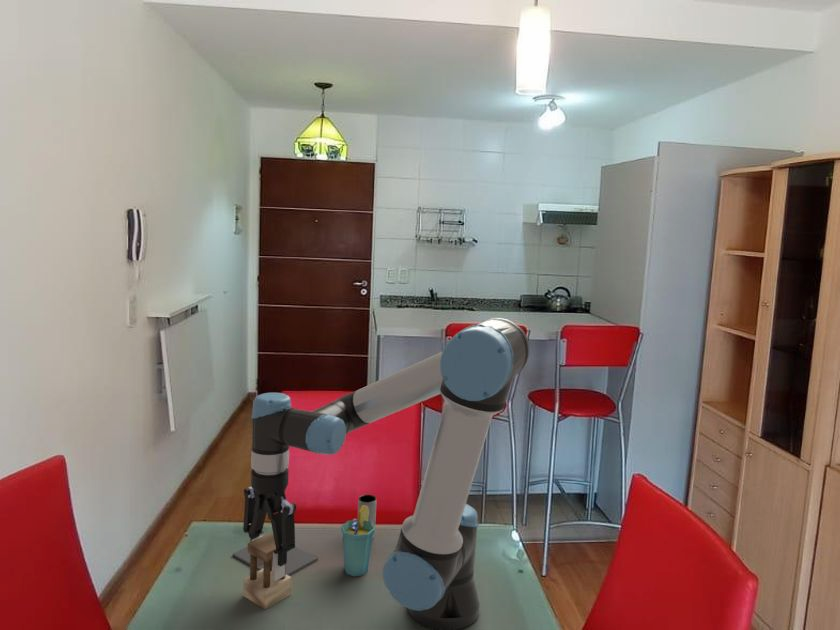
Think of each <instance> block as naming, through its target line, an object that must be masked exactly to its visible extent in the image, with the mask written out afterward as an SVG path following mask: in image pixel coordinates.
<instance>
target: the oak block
mask: <svg viewBox="0 0 840 630" xmlns="http://www.w3.org/2000/svg"><path fill="white" fill-rule="evenodd" d="M263 569H264V568H263ZM263 569H261V570H257V579H256V580H250V575H248V576H246V577H244V578H243V589H242V590H243V591H242V592H243V593H242V594H243V595H242V596H243V597H244V598H246V599H248V600H249V601H251V602H253V603H254V604H255V605H257V606H259V607H261V608H262V609H264V610H267V609H268V608H271V607H272V606H274V605H275V604H277V603H279V602H281V601H283V600H284V599H286V598H287V597H289V596H291V595H292V576H291V575H290V576H288V575H287V574H286V575H285V579H278V580H277V581H273V580H272V577H273V567H272V571H271V572H270V587H268V588H264V587H263Z"/></svg>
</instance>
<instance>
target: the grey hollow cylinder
mask: <svg viewBox="0 0 840 630" xmlns="http://www.w3.org/2000/svg"><path fill="white" fill-rule="evenodd" d="M357 501H358V502H357V504H358V505H357V515H358V514H359V511H360V509H361V507H362V505H366V506H368V508H369V518H368V522H371V523H372V525H373V527H374V529H375V531H374V534H373V536H372V540H373V539H374V538H375V536H376V518H377V517H376V516H377V497H376V496H375V495H372V494H362V495H360V496H359V497H358V500H357Z"/></svg>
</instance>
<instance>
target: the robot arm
mask: <svg viewBox="0 0 840 630" xmlns="http://www.w3.org/2000/svg"><path fill="white" fill-rule="evenodd" d="M528 339H529V338H528V337H527V335H526V333H525V332H524V330H523V328H522V327H521V326H519V325H518V324H517V323H516V322H515V321H512V320H510V319H506V318H503V317H492V318H488V319H485V320H483V321H481V322H480V323H477V324H474V325H469V326H467V327H465V328H463V329H461V330H460V331H458V332H457V333H456V334H454V336H452V337H451V338H450V339H449V340H448V341H447V343H446V345H445V346H444V348H443V350H442V351H440V352H438V353H437V354H433V355H432V356H429V357H427V358H425V359H423V360H421V361H419V362H415V363H413V364H412V365H410V366H408V367H405V368H402V369H401V370H399V371H396V372H395V373H392V374H390V375H388V376H386V377H383V378H380V379H379V380H377V381H374V382H373V383H370V384H368V385H366V386H364V387H362V388H359V389H357V390H355V391H352V392H350V393H347V394H345V395H343V396H340V397H338V398H337V399H335V400H333V401H331V402H329V403H328V404H325V405H323V406H321V407H318V408H316V409H315V410H311V411H309V410H303V409H298V408H294V407H292V403H291V397H290V396H289V395H287V394H285V393H282V392H265V393H261V394H258V395H256V396H255V398H254V399H253V401H252V412H251V436H252V437H251V441H252V442H251V443H252V444H251V452H250V453H251V454H250V455H251V457H250V459H251V460H250V467H251V471H250V472H251V473H250V486H249V487H247V488H244V489H243V496H244V510H243V511H244V512H243V525H242V527H243V528H242V530H243V533H245V534H246V533H247V534H248V537H249V539H250V542H251V541H254V540H256V539H258V538H260V537H262V536H264V535H262V534H264V532H265V531H264V530H263V529H264V526H265V522H266V517H267V519H268V520H270V523H271V528H272V534H273V535H274V541H275V546H276V550H274V551H273V577H272V580H273V581H277V580H278V579H280V578H282V577H284V576H285V564H286V563H287V552H288V551H290V550H291V549H293V548H295V546H296V532H295V531H296V529H295V527H296V526H295V525H296V524H295V523H296V521H295V513H296V510H297V505H296V503H295V502H292V503H290V502H289V501H288V500H287V496H286V490H287V487H288V486H289V468H288V467H289V464H290V463H289V462H290V448H294V449H295V448H296V449H299V450H303V451H308V452H311V453H314V454H319V455H328V456H329V455H330V456H332V455H335V454H337V453H338V452H339V451H340V450H341V447H343V445H344V443H345V441H346V435H347V434H349V433H351V432H353V431H356V430H358V429H360V428H363V427H364V426H367V425H369V424H371V423H373V422H377V421H379V420H380V419H383V418H385V417H387V416H391V415H393V414H396V413H397V412H400V411H403V410H405V409H407V408H410V407H412V406H414V405H417V404H419V403H421V402H424V401H427V400H429V399H431V398H434V397H436V396H438V395H441V397H442V398H443V400H444V401H445V403H444V406H443V409H442V412H441V416H440V419H439V420H440V421H439V424H438V427H437V431H436V434H435V438H434V441H433V445H432V449H431V451H430V454H429V455H430V456H429V458H428V463H427V465H426V466H427V467H426V470H425V474H424V477H423V480H422V484H421V487H420V491H419V495H418V498H417V502H416V505H415V509H414V512H413V515H410V516H408V517H406V518H405V519H404V520H403V523H402V525H401V529H400V533H399V535H398V539H397V542H396V546H395V548H394V550H393V553H391V554H389V556H387V558H386V559H385V562H384V564H383V567H382V580H383V583H384V587H385V589H387V590H388V592H389V595H390V596H391V597H392V598H393V600H395V601H396V602H397V603H398V604H400V605H401V606H403V607H404V608H407V612H408V613H409V615H410V616H411V618H412V619H413V620H415V622H417V623H419V624H421V625H422V626H424V627H426V628H429V629H433V630H462V629H464V628H467V627H470V626H471V625H472V624H474V622H476V621H477V620H478V618H479V614H480V607H481V606H480V604H481V603H480V596H479V595H478V590H477V586H476V583H475V582H476V581H475V578H474V573H475V572H474V571H475V563H476V562H475V560H476V547H477V546H476V545H477V537H478V536H477V534H478V527H479V523H478V512H477V510H476V509H475V508H474V507H472V506H471V505H469V504H468V503H467V502H468V498H469V494H470V493H471V492H470V491H471V488H472V485H473V482H474V478H475V474H476V471H477V468H478V466H479V465H478V464H479V461H480V458H481V455H482V451H483V448H484V446H485V441H486V439H487V435H488V432H489V430H490V429H489V428H490V425H491V421H492V418H493V416H495V415H497V414H500V413H501V412H503V411H504V409H505V406H506V402H507V399H508V397H509V393H510V390H511V386H512V384H513V383H512V382H513V380H514V378H515V377H516V376H517V375H519V373H520V372H522V370H523V369H524V368H525V366H526V365H527V363H528V360H529V357H530V344H529V340H528ZM281 544H282V545H281ZM263 563H264V561H263V560H261V559H259V558H257V567H259V566H261V565H263Z"/></svg>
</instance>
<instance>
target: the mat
mask: <svg viewBox="0 0 840 630" xmlns="http://www.w3.org/2000/svg"><path fill="white" fill-rule="evenodd" d="M232 557H234V558H235V559H237V560H239V561H241V562H242V563H244V564H246V565H249V566H250V553H248V546H245V547H244V548H242V549H239V550H238V551H236V552H233V553H232ZM318 560H319V557H317V556H315V555H314V554H312V553H309V552H308V551H306V550H303V549H302V548H299V547H298V546H296V545H295V548H293V549H291V550H290V551H288V552H287V563H286V574H287V575H288V576H290V577H291V576H292V575H294V574H296V573H297V572H299V571H301V570H302V569H304V568H306V567H308V566H310V565H312V564H313V563H315V562H317V561H318ZM272 567H273V560H272ZM263 568H264V563H263V565H261V566H259V567H257V571H259V570H261V569H263Z"/></svg>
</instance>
